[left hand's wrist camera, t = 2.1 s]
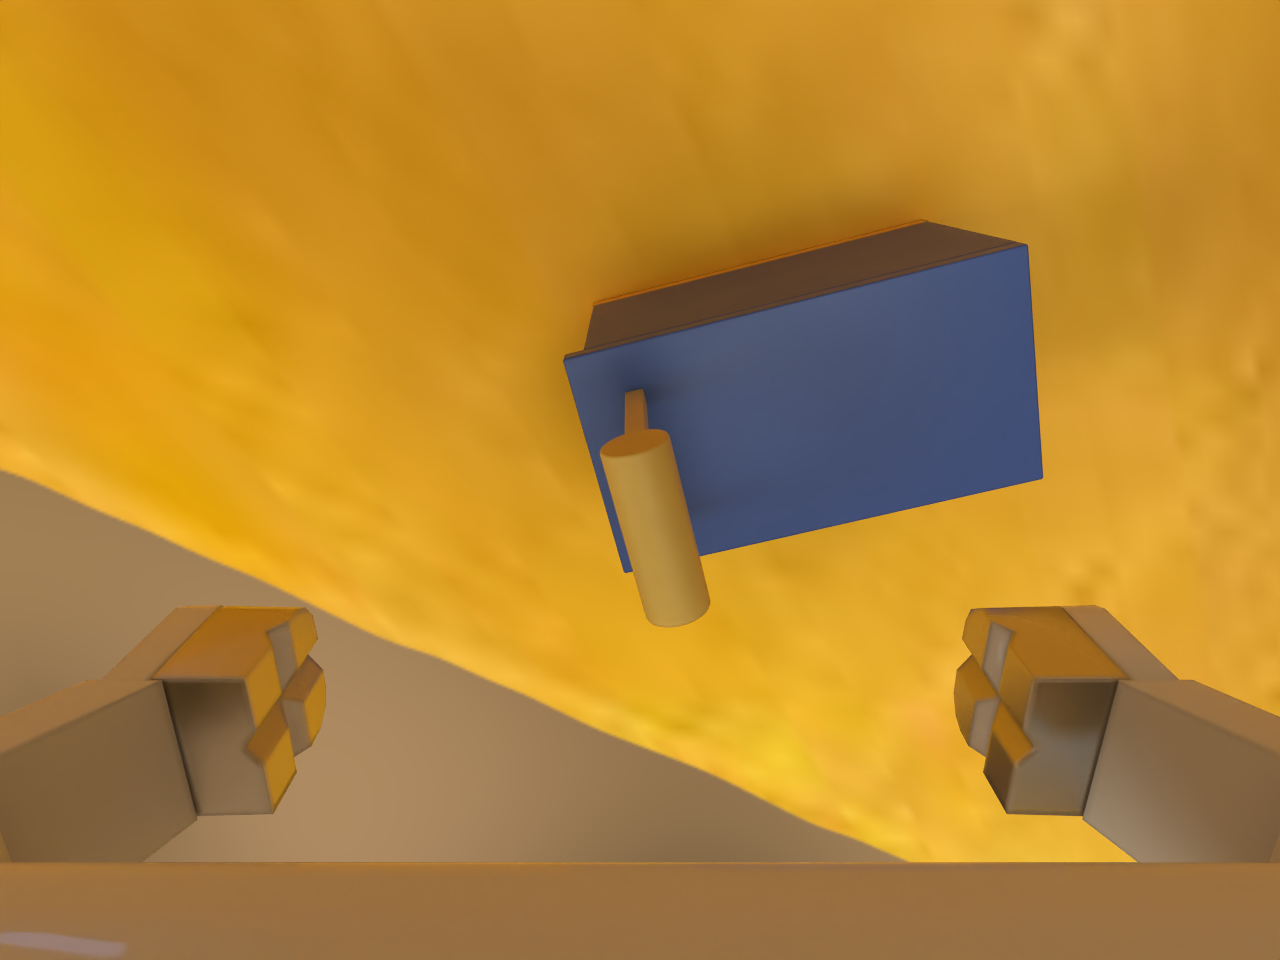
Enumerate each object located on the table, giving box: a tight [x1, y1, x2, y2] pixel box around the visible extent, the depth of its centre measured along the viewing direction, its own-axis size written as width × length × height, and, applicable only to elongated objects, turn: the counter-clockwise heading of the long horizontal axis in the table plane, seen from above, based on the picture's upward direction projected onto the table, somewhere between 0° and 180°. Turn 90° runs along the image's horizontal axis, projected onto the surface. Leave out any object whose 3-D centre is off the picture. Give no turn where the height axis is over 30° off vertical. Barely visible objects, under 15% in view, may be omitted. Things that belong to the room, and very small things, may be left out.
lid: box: [563, 242, 1043, 627], centre depth 28 cm, size 17×9×8 cm, turn 104°
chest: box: [584, 220, 1016, 350], centre depth 37 cm, size 16×9×10 cm, turn 104°
